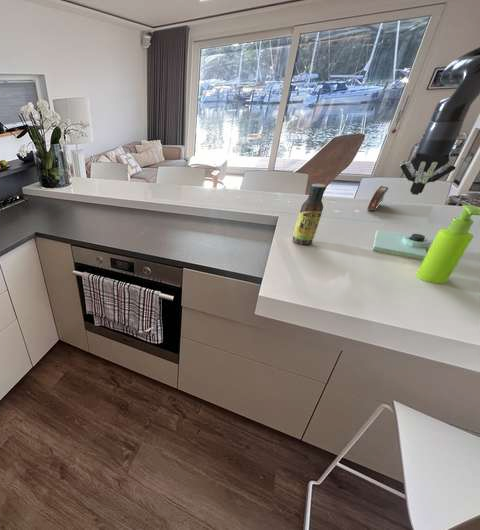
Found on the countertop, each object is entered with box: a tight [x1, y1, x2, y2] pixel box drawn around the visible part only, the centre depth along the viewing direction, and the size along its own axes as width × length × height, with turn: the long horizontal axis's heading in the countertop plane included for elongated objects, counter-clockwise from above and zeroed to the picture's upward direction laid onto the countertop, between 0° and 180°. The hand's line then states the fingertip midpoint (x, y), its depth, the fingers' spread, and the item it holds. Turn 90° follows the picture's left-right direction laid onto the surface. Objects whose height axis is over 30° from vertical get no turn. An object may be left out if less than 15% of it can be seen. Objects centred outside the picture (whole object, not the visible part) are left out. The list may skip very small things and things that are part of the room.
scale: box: [372, 228, 431, 261], centre depth 92 cm, size 12×16×3 cm
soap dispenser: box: [415, 204, 480, 285], centre depth 72 cm, size 6×7×20 cm
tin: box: [367, 185, 389, 211], centre depth 118 cm, size 15×3×8 cm, turn 133°
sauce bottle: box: [291, 183, 327, 245], centre depth 95 cm, size 6×6×20 cm
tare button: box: [410, 233, 426, 242], centre depth 89 cm, size 3×3×2 cm
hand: (414, 193), depth 94 cm, fingers closed
